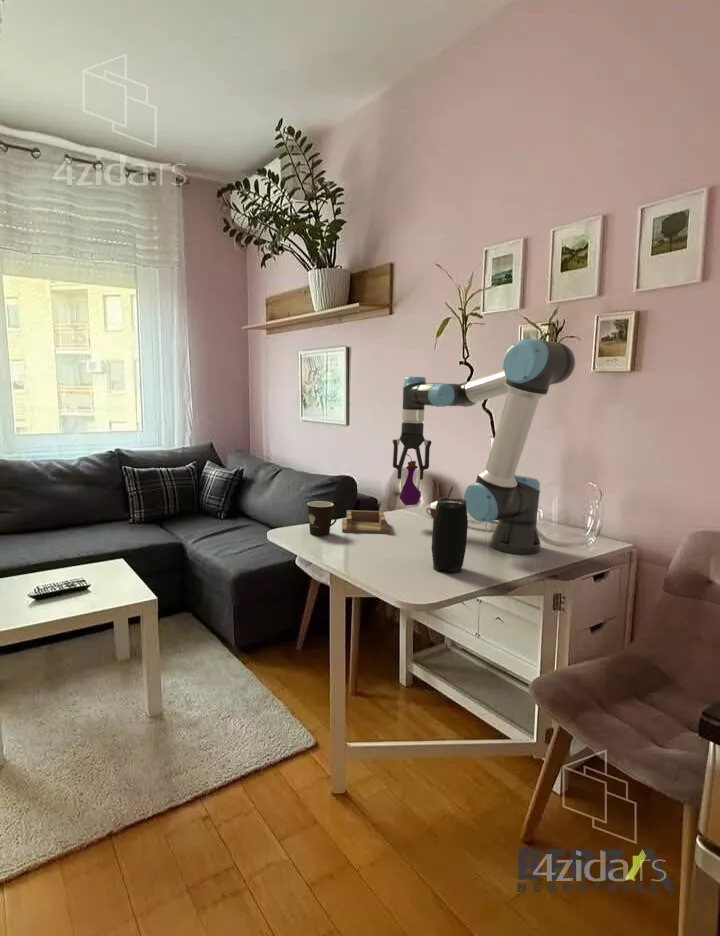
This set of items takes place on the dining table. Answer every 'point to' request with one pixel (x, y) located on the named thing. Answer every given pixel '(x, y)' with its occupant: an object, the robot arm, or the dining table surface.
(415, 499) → the perfume bottle
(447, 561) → the portable speaker
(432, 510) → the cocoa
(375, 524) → the walnut cradle
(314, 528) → the coffee mug
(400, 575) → the dining table surface
